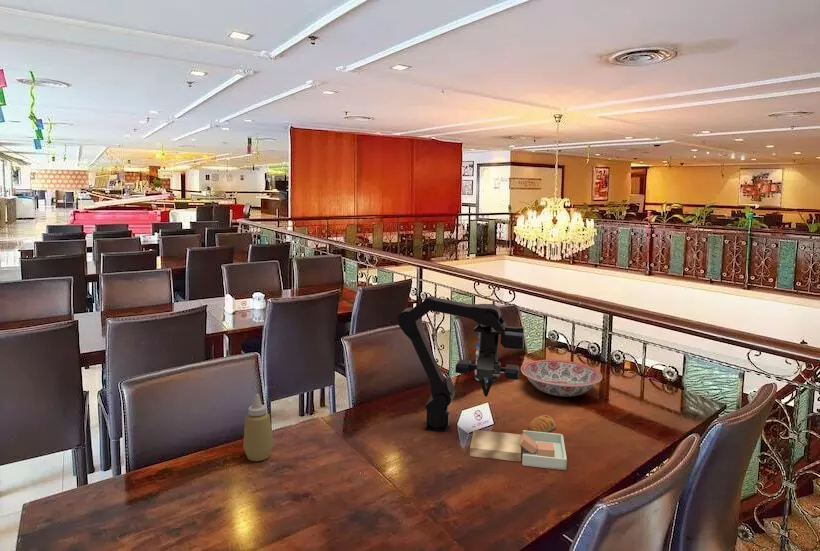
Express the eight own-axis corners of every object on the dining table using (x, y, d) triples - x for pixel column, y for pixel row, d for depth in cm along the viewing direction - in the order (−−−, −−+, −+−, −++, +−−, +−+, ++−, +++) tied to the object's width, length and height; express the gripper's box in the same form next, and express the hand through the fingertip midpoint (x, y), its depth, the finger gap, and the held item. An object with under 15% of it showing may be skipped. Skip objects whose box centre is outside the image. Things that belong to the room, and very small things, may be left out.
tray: (522, 465, 149) (522, 455, 149) (522, 439, 165) (523, 430, 164) (566, 470, 147) (566, 459, 147) (562, 443, 163) (562, 434, 162)
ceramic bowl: (609, 388, 209) (610, 368, 208) (588, 413, 185) (590, 391, 184) (535, 373, 225) (536, 355, 223) (507, 395, 200) (508, 374, 199)
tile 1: (519, 444, 155) (524, 439, 155) (518, 437, 159) (523, 432, 159) (532, 454, 155) (537, 449, 154) (531, 446, 159) (535, 441, 159)
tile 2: (554, 450, 153) (554, 457, 153) (552, 443, 157) (552, 449, 158) (538, 449, 154) (537, 456, 154) (536, 442, 158) (536, 448, 158)
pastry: (541, 438, 167) (541, 426, 166) (522, 431, 171) (522, 419, 171) (557, 429, 173) (557, 417, 173) (538, 422, 178) (538, 411, 177)
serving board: (469, 456, 154) (470, 447, 154) (473, 437, 166) (473, 429, 165) (520, 461, 151) (521, 453, 151) (520, 442, 163) (521, 434, 163)
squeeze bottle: (279, 452, 154) (278, 391, 151) (262, 466, 147) (261, 402, 144) (254, 447, 157) (253, 387, 154) (237, 460, 149) (235, 397, 146)
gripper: (453, 350, 159) (451, 401, 162) (518, 357, 155) (515, 410, 157) (459, 340, 170) (457, 389, 173) (520, 346, 166) (517, 396, 168)
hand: (486, 396), depth 167 cm, fingers closed
